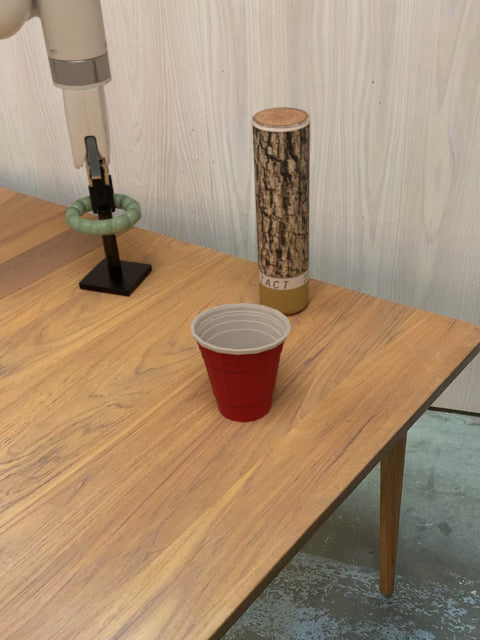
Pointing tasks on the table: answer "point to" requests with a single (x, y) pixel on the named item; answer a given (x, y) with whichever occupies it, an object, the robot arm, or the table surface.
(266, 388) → the plastic cup
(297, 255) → the paper tube
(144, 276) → the ring stand
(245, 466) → the table surface
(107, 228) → the ring
